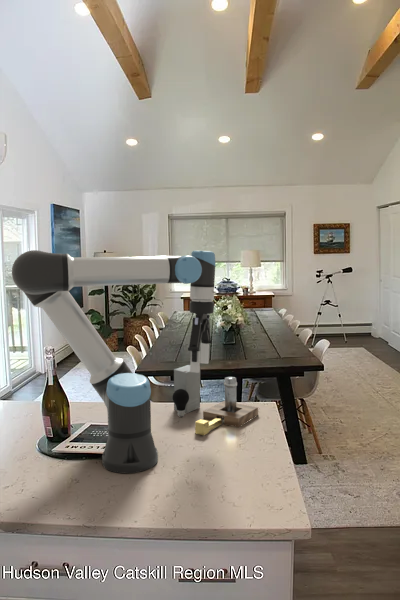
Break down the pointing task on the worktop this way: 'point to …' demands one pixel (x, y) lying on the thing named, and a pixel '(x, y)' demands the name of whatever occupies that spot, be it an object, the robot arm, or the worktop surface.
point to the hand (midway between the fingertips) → (199, 367)
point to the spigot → (230, 394)
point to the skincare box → (188, 386)
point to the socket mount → (231, 414)
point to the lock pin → (206, 426)
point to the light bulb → (180, 400)
